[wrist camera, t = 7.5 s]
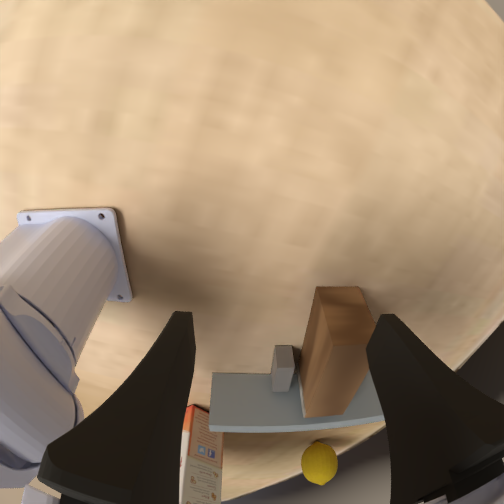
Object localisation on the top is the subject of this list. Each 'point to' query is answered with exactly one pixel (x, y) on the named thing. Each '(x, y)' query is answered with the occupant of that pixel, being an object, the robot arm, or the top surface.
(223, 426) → the grey plank with pegs
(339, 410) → the block
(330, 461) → the lemon
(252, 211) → the top surface
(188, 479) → the cracker box
